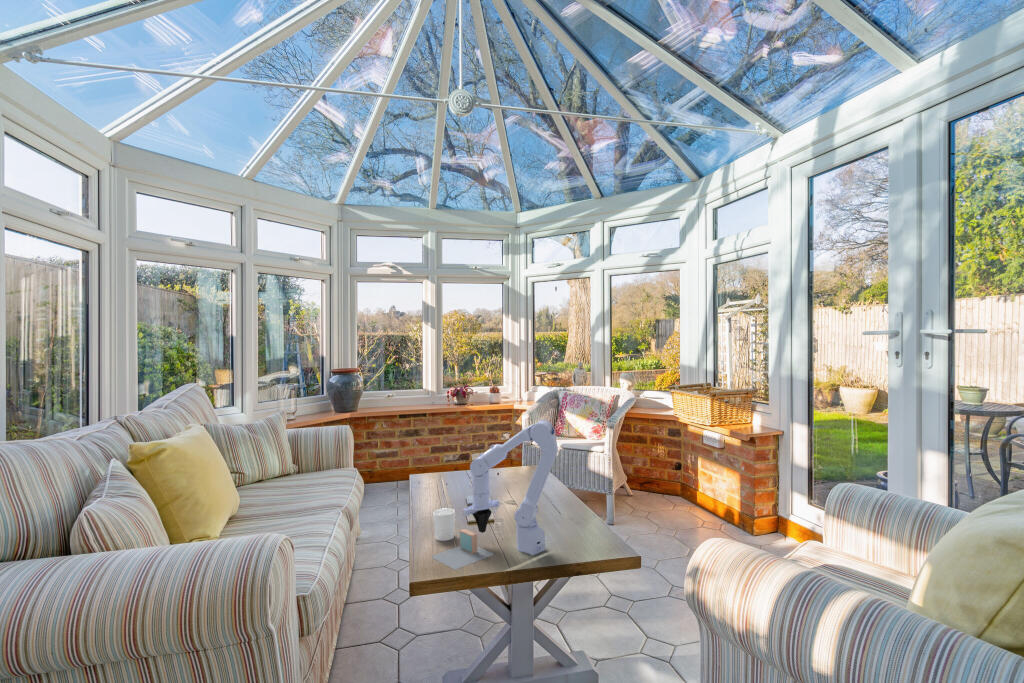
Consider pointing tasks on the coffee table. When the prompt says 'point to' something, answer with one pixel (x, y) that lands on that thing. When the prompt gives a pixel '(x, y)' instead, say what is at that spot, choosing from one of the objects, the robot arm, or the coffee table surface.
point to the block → (468, 541)
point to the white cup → (444, 523)
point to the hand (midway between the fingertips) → (482, 531)
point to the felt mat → (461, 557)
